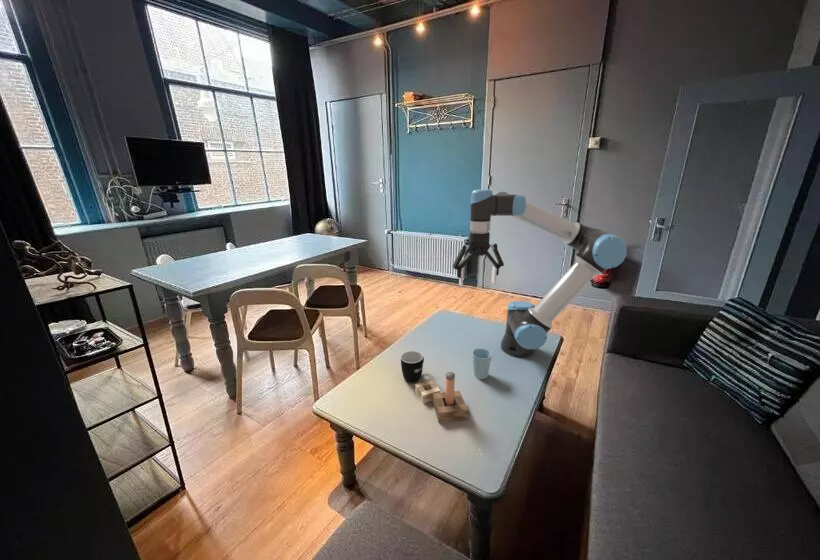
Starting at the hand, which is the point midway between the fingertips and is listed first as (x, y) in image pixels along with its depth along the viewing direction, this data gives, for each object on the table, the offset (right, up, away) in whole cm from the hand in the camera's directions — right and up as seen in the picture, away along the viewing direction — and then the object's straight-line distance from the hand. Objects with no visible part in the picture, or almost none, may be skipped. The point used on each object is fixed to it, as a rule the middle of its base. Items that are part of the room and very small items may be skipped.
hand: (477, 284), depth 131 cm
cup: (+2, -38, +4) cm, 38 cm away
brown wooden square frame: (-13, -44, -16) cm, 49 cm away
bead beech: (-20, -42, -8) cm, 47 cm away
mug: (-25, -38, +4) cm, 46 cm away
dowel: (-13, -44, -16) cm, 49 cm away
